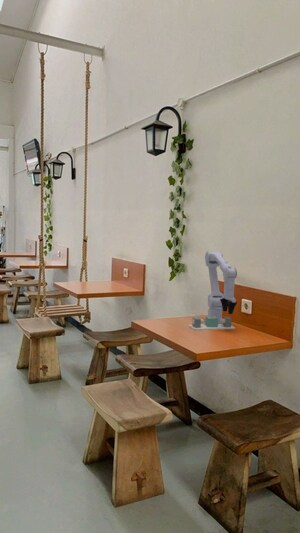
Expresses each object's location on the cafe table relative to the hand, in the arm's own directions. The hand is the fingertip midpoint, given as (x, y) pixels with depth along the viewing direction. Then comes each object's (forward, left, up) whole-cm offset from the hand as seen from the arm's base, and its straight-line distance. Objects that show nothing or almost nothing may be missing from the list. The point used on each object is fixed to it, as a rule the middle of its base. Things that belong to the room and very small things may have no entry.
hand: (227, 312), depth 238 cm
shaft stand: (-3, -8, -9) cm, 13 cm away
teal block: (-3, -8, -9) cm, 12 cm away
